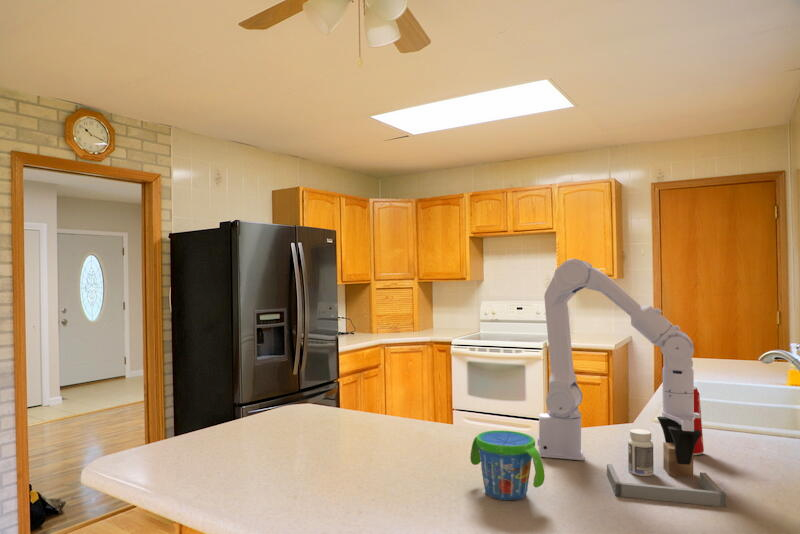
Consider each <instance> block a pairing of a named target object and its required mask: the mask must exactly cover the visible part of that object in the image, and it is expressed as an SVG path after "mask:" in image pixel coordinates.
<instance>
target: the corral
mask: <svg viewBox="0 0 800 534" xmlns="http://www.w3.org/2000/svg"><path fill="white" fill-rule="evenodd" d="M606 476H607V479H608V481H609V483H610V486H611V488H612V491H613V493H614V496H616V497H622V498H623V497H625V498H634V499H642V500H643V499H644V500H653V501H663V502H673V503H674V502H675V503H682V504H683V503H684V504H691V505H692V504H693V505H703V506H710V507H711V506H712V507H724V508H727V494H726V492H724V491H723V489H721V487H720V486H719V485H718V484H717V483H716V482H715V481H714V480H713V479H712V478H711V477H710V476H709V475H708V473H706V472H701V471H700V472H699V485H701V487H702V488H703V489H696V488H695V489H694V488H685V487H674V486H665V485H664V486H663V485H654V484H653V485H652V484H643V483H635V482H634V483H632V482H625V481H622V482H621V480H620V478H619V476H618V474H617V472H616V470H615V467H614V466H613V464H610V463H607V464H606Z"/></svg>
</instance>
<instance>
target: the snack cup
mask: <svg viewBox="0 0 800 534" xmlns="http://www.w3.org/2000/svg"><path fill="white" fill-rule="evenodd" d="M469 458H470V459H469V460H470V463H471V464H472V465H473V466H476V465H479V464H480V467H481V475H482V481H483V486H484V492H485V493H486V495H489V497H491V498H495V499H499V500H501V501H516V500H522V499H523V498H525V496H526V494H527V493H528V485H529V482H530V481H529V480H530V474H531V467H532V463H533V466H534V470H535V471H534V473H535V474H534V478H533V484H532V485H533V487H534V488H539V487H541V486H542V485H543V484H544V482H545V469H544V464H543V460H542V457H540V454H539V450H538V449H537V448H536V440H535V438H534V437H533V436H532V435H529V434H527V433H523V432H519V431H512V430H488V431H483V432H481V433H478V434H477V435H476V436H475V437H474V439H473V441H472V444H471V450H470V457H469ZM532 461H533V462H532Z"/></svg>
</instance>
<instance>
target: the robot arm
mask: <svg viewBox="0 0 800 534" xmlns="http://www.w3.org/2000/svg"><path fill="white" fill-rule="evenodd" d="M584 288H585V289H588V290H592V291H596V292H600V293H601V294H603V295H604V296H605V297H606V298H608V299H609V300H610V301H611V302H613V303H614V304H615V305H616V306H617V307H618V308H620V309H621V310H622V311H624V312H625V313H626V314H627V315H629V316H630V325H631V326H632V327H633V328H634V329H635V330H636V331H638V333H640V334H641V335H642V336H643V337H644V338H646V340H648V341H649V342H650V343H651V344H652V345H653V346H655V347H656V346H657V347H659V348H660V351H661V353H662V356H663V367H662V368H661V369H662V410H661V416H657V417H656V418H657V420H658V422H659V424H660V427H661V429H662V432H663V436H664V442H667V443H674V446H675V453H676V458H677V462H678V464H686V465H690V462H691V459H692V455H693V451H694V447H695V445H696V442H697V441H698V439H699V438H700V436H701V431H699V430H694V419H695V418H700V414H699V413H694V387H695V385H694V384H695V383H694V382H695V381H694V378H695V377H694V369H693V366H694V361H693V359H692V357H693V356H694V352H695V348H694V343H693V340H692V339H691V338H690V336H688V334H687V333H686V332H684V331H681V327H680V326H679V325H677V324H676V325H674V324H673V323H672V322H670V320H669V319H667V318H666V317H665V316H663V315H662V314H661V313H663V311H662V310H661V309H660V308H659V307H656V308H654V307H653V306H652V305H641V304H640V303H639V302H638V301H637V300H635V299H634V297H632V296H631V295H629V294H628V293H627V291H626V290H624V289H623V288H622V286H620V285H619V284H617V283H616V281H614V279H612V278H611V277H610V276H608V275H607V274H606V273H604V272H603V271H601V270H600V269H599V268H596V267H593V265H592V264H591V263H590V262H588V261H586V260H581V259H577V258H570V259H567V260H565V261H563V262H562V263H561V264H560V265H559V266H558V267H557V268H556V269H555V271H554V274H553V277H552V279H551V280H550V282H549V284H548V286H547V288H546V290H545V292H544V297H543V298H544V308H545V309H544V310H545V319H546V330H547V332H546V333H547V340H548V341H547V342H548V353H549V354H548V356H549V363H550V364H549V365H550V376H549V379H548V388H549V389H548V392H547V395H546V397H545V398H546V399H545V402H546V403H545V404H546V406H547V407H546V408H547V412H540V413H538V437H537V447H538V452H539V454H540V457H541V458H550V459H563V460H564V459H565V460H575V461H585V456H584V453H583V450H582V412H581V411H580V409H579V406H580V405H581V403H582V401H583V391H582V390H581V389H580V386H579V385H578V382H577V375H576V373H575V371H574V359H573V350H572V349H573V348H572V339H571V338H572V337H571V328H570V327H571V326H570V317H569V306H568V302H569V301H570V300H571V299H572V298H573V297H574V296H575V295H576V294H577V292H579V291H581V290H583V289H584ZM693 456H694V455H693Z"/></svg>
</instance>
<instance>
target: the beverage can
mask: <svg viewBox="0 0 800 534" xmlns="http://www.w3.org/2000/svg"><path fill="white" fill-rule="evenodd" d="M700 398H701V396H700V392H699V390H698V387H696V386H694V413H699V414H700V418H695V419H694V430H699V431H701V436H700V438H699V439H698V441H697V442H696V445H695V447H694V451H693V456H697V455H698V456H699V455H702V454H703V453H704V452H705V450H704V449H705V447H704V438H703V437H704V436H703V435H704V434H703V423H702V410H701V399H700Z"/></svg>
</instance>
